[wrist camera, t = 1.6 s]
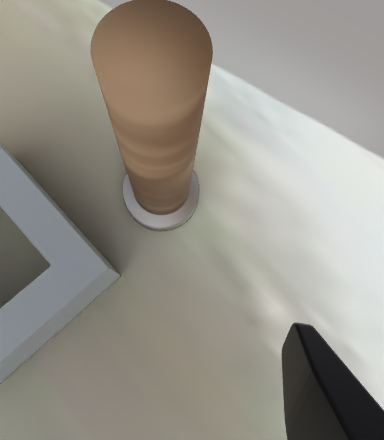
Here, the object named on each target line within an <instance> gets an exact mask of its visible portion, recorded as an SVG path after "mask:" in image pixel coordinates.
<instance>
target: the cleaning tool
mask: <svg viewBox="0 0 384 440" xmlns="http://www.w3.org/2000/svg"><path fill="white" fill-rule="evenodd" d="M212 54H213V52H212V42H211V38H210V36H209V33H208V31H207V29H206V27H205V26H204V24H203V23H202V22H201V21H200V19H199V18H198V17H197V16H196V15H195V14H194V13H192V12H191V11H190V10H188V9H187V8H185V7H183V6H181V5H179V4H177V3H174V2H171V1H167V0H132V1H130V2H126V3H124V4H122V5H119V6H118V7H116V8H114V9H113V10H111V11H110V12H109V13H108V14H106V15H105V17H104V18H103V19H102V20H101V21H100V23H99V24H98V25H97V27H96V29H95V31H94V34H93V37H92V41H91V58H92V61H93V65H94V68H95V71H96V75H97V78H98V81H99V84H100V87H101V91H102V94H103V97H104V100H105V103H106V107H107V110H108V113H109V116H110V120H111V123H112V126H113V129H114V132H115V136H116V139H117V142H118V145H119V148H120V152H121V155H122V158H123V161H124V164H125V168H126V171H127V173H126V175H125V178H124V181H123V197H124V200H125V203H126V205H127V208H128V210H129V212H130V214H131V216H132V217H133V218H134V219H135V220H136V221H137V222H138V223H139V224H140V225H142V226H144V227H146V228H148V229H151V230H155V231H168V230H172V229H175V228H178V227H180V226H181V225H183V224H184V223H185V222H187V221H188V220H189V218H190V217H191V216H192V214H193V213H194V211H195V208H196V205H197V201H198V197H199V191H200V189H199V181H198V178H197V175H196V173H195V171H194V170H193V166H194V160H195V154H196V149H197V143H198V137H199V131H200V126H201V120H202V114H203V108H204V102H205V97H206V91H207V85H208V79H209V74H210V68H211V62H212Z"/></svg>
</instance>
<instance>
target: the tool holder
mask: <svg viewBox="0 0 384 440" xmlns="http://www.w3.org/2000/svg"><path fill="white" fill-rule="evenodd" d="M0 207H1V208H2V209H3V210H4V211H5V212H6V214H7V215H8V216H9V217H10V218H11V219H12V221H13V222H14V223H15V224H16V225H17V226H18V228H19V229H20V230H21V231H22V232H23V233H24V235H25V236H26V237H27V238H28V239H29V240H30V241H31V243H32V244H33V245H34V246H35V247H36V248H37V250H38V251H39V252H40V253H41V254H42V255H43V257H44V258H45V259H46V260H47V261H48V262H49V264H50V265H51V266H50V267H49V268H48V269H46V270H45V271H44V272H43V273H42V274H41V275H39V276H38V277H37V278H36V279H35V280H33V281H32V282H31V283H30V284H29V285H27V286H26V287H25V288H24V289H23V290H22V291H20V292H19V293H18V294H17V295H16V296H14V297H13V298H12V299H11V300H10V301H9V302H7V303H6V304H5V305H4V306H3V307H1V308H0V384H1V383H2V382H3V381H4V380H5V379H6V378H7V377H8V376H9V375H11V374H12V373H13V372H14V371H15V370H16V369H17V368H18V367H20V366H21V365H22V364H23V363H24V362H25V361H26V360H27V359H28V358H30V357H31V356H32V355H33V354H34V353H35V352H36V351H37V350H39V349H40V348H41V347H42V346H43V345H44V344H45V343H46V342H47V341H49V340H50V339H51V338H52V337H53V336H54V335H55V334H56V333H58V332H59V331H60V330H61V329H62V328H63V327H64V326H65V325H67V324H68V323H69V322H70V321H71V320H72V319H73V318H74V317H75V316H77V315H78V314H79V313H80V312H81V311H82V310H83V309H84V308H86V307H87V306H88V305H89V304H90V303H91V302H92V301H93V300H94V299H96V298H97V297H98V296H99V295H100V294H101V293H102V292H103V291H105V290H106V289H107V288H108V287H109V286H110V285H111V284H112V283H113V282H115V281H116V280H117V279H118V278H119V277H120V275H119V273H118V272H117V271H116V270H115V269H114V268H113V267H112V266H111V265H110V263H109V262H108V261H107V260H106V259H105V258H104V257H103V256H102V254H101V253H100V252H99V251H98V250H97V249H96V248H95V247H94V245H93V244H92V243H91V242H90V241H89V240H88V239H87V238H86V236H85V235H84V234H83V233H82V232H81V231H80V230H79V229H78V227H77V226H76V225H75V224H74V223H73V222H72V221H71V220H70V218H69V217H68V216H67V215H66V214H65V213H64V212H63V211H62V209H61V208H60V207H59V206H58V205H57V204H56V203H55V202H54V201H53V199H52V198H51V197H50V196H49V195H48V194H47V193H46V192H45V190H44V189H43V188H42V187H41V186H40V185H39V184H38V183H37V181H36V180H35V179H34V178H33V177H32V176H31V175H30V174H29V172H28V171H27V170H26V169H25V168H24V167H23V166H22V165H21V163H20V162H19V161H18V160H17V159H16V158H15V157H14V156H13V155H12V154H11V153H10V152H9V151H8V150H7V149H6V148H5V147H4V146H3V145H2V144H1V143H0Z"/></svg>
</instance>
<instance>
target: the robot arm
mask: <svg viewBox="0 0 384 440" xmlns="http://www.w3.org/2000/svg"><path fill="white" fill-rule="evenodd" d="M282 372H283V394H284V413H285V425H286V433H287V439H288V440H384V410H383V409H382V408H381V407H380V405H379V404H378V403H377V402H376V401H375V400H374V398H373V397H372V396H371V395H370V394H369V392H368V391H367V390H366V389H365V388H364V386H363V385H362V384H361V383H360V382H359V380H358V379H357V378H356V377H355V376H354V375H353V373H352V372H351V371H350V370H349V369H348V367H347V366H346V365H345V364H344V363H343V361H342V360H341V359H340V358H339V357H338V356H337V354H336V353H335V352H334V351H333V350H332V348H331V347H330V346H329V345H328V344H327V342H326V341H325V340H324V339H323V338H322V336H321V335H320V334H319V333H318V332H317V331H316V329H315V328H314V327H313V326H311V325H309V324H303V323H293V324H292V326H291V328H290V330H289V333H288V335H287V337H286V340H285V342H284V344H283V348H282Z"/></svg>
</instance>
